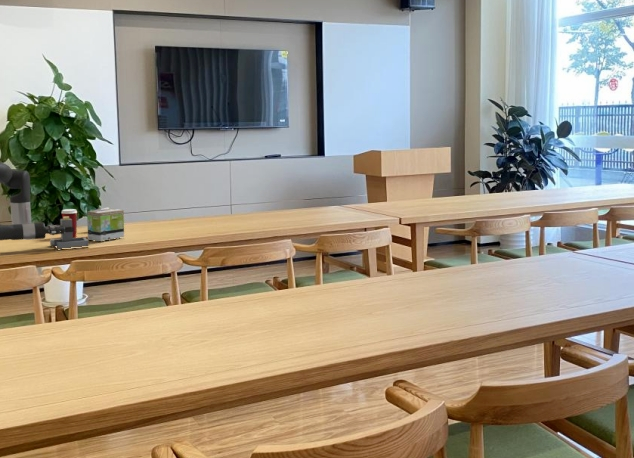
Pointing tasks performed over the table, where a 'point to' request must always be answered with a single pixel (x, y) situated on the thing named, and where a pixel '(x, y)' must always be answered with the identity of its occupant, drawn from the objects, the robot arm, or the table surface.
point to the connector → (67, 235)
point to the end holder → (71, 243)
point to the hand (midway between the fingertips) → (72, 228)
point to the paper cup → (72, 215)
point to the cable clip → (52, 242)
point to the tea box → (105, 224)
